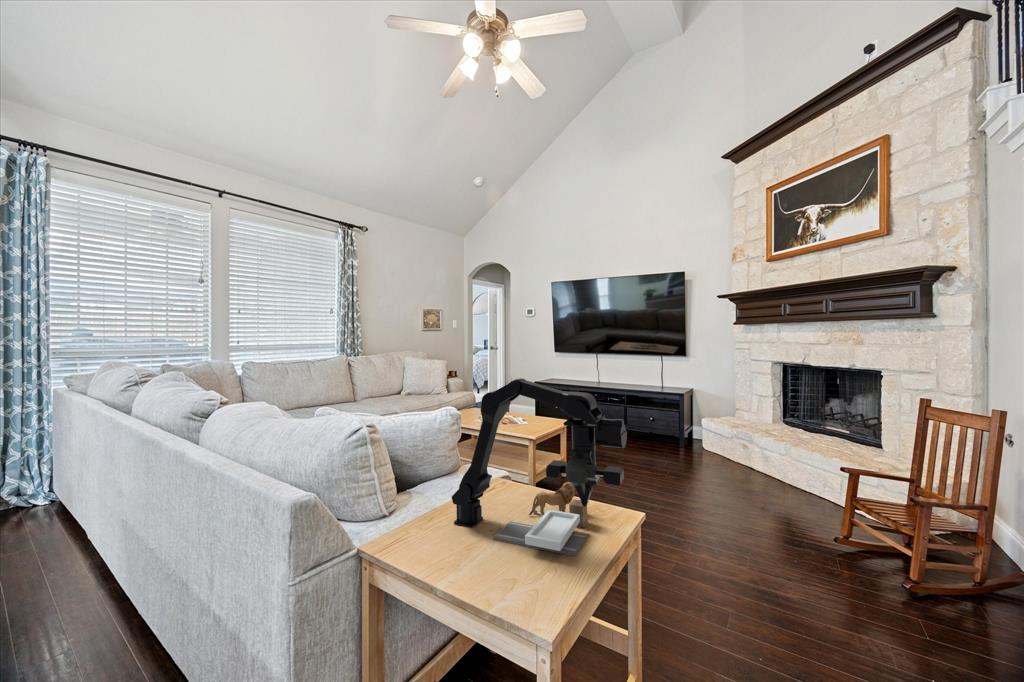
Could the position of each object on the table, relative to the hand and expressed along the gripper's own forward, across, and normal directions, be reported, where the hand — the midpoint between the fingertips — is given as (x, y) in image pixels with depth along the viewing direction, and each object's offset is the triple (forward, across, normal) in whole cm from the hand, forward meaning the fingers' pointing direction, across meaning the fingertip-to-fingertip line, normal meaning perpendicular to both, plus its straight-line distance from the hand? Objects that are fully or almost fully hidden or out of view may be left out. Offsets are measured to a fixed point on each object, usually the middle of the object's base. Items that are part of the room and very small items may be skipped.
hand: (585, 506), depth 103 cm
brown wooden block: (+10, -5, +12) cm, 17 cm away
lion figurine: (+11, -14, +17) cm, 24 cm away
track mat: (+10, -12, 0) cm, 16 cm away
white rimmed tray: (+10, -8, 0) cm, 13 cm away
